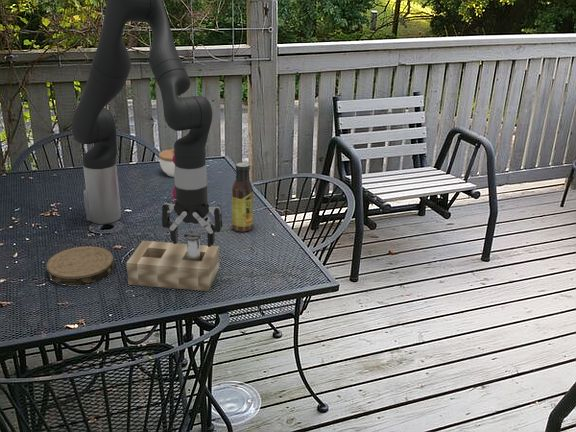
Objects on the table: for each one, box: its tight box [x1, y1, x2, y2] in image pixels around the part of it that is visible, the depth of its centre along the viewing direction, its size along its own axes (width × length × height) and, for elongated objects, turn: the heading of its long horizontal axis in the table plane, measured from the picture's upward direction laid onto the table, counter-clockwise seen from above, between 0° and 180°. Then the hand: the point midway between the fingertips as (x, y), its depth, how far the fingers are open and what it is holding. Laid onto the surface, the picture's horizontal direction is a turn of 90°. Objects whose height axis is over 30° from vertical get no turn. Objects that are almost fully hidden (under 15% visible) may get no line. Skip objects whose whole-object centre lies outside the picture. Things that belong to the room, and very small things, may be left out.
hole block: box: [126, 240, 220, 292], centre depth 145 cm, size 20×12×6 cm, turn 84°
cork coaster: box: [46, 245, 115, 286], centre depth 147 cm, size 16×16×3 cm
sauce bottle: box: [231, 162, 254, 233], centre depth 168 cm, size 7×6×20 cm
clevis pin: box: [183, 229, 203, 261], centre depth 143 cm, size 4×4×12 cm
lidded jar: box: [158, 148, 175, 178], centre depth 210 cm, size 11×11×9 cm
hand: (193, 244), depth 142 cm, fingers open, 8 cm apart
